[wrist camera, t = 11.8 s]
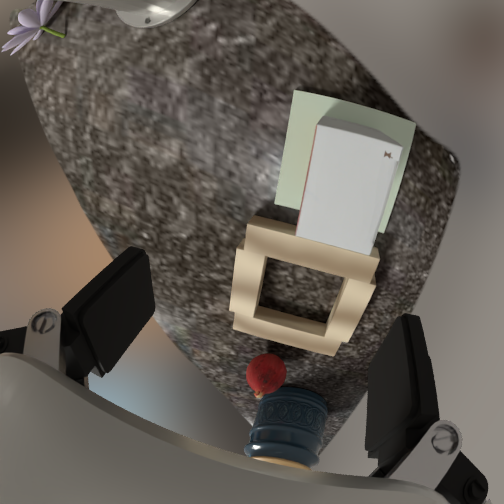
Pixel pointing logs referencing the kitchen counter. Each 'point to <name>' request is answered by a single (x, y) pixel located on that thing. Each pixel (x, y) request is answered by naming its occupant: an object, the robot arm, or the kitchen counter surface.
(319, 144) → the small box
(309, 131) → the pad
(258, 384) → the red round piece
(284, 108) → the kitchen counter surface
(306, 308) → the kitchen counter surface
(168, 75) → the kitchen counter surface
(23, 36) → the water lily
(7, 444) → the robot arm
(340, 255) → the wooden square frame
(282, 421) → the canister
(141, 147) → the kitchen counter surface
